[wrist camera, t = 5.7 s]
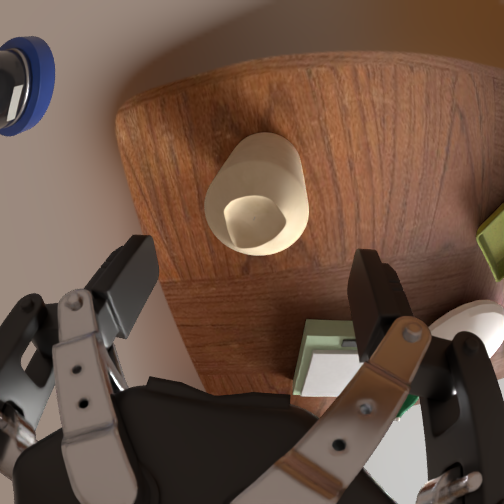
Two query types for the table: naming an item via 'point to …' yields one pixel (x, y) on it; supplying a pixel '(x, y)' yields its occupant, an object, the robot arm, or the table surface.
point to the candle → (259, 196)
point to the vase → (473, 323)
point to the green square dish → (493, 242)
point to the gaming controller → (406, 405)
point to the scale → (326, 358)
